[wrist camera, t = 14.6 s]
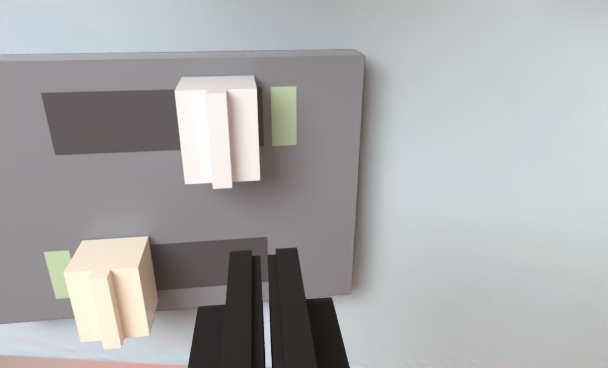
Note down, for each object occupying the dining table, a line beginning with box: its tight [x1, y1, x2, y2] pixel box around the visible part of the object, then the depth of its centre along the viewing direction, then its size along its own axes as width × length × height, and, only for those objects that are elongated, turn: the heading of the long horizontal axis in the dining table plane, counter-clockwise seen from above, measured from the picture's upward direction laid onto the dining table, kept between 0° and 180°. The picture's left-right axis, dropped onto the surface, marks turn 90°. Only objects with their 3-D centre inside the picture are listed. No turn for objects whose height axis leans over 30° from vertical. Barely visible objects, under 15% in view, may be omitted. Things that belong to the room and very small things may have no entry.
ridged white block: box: [175, 75, 260, 189], centre depth 25 cm, size 4×5×4 cm
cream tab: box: [64, 236, 158, 349], centre depth 28 cm, size 4×5×4 cm
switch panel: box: [0, 49, 365, 324], centre depth 30 cm, size 24×17×2 cm
